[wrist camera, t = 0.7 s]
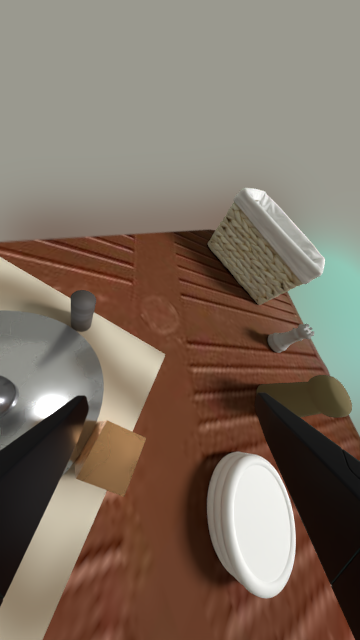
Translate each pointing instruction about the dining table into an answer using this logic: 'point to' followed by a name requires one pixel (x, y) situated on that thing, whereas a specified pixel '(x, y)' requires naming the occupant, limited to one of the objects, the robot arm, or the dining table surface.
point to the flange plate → (61, 395)
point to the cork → (311, 396)
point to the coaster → (251, 523)
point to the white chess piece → (289, 337)
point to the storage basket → (264, 247)
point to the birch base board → (72, 494)
